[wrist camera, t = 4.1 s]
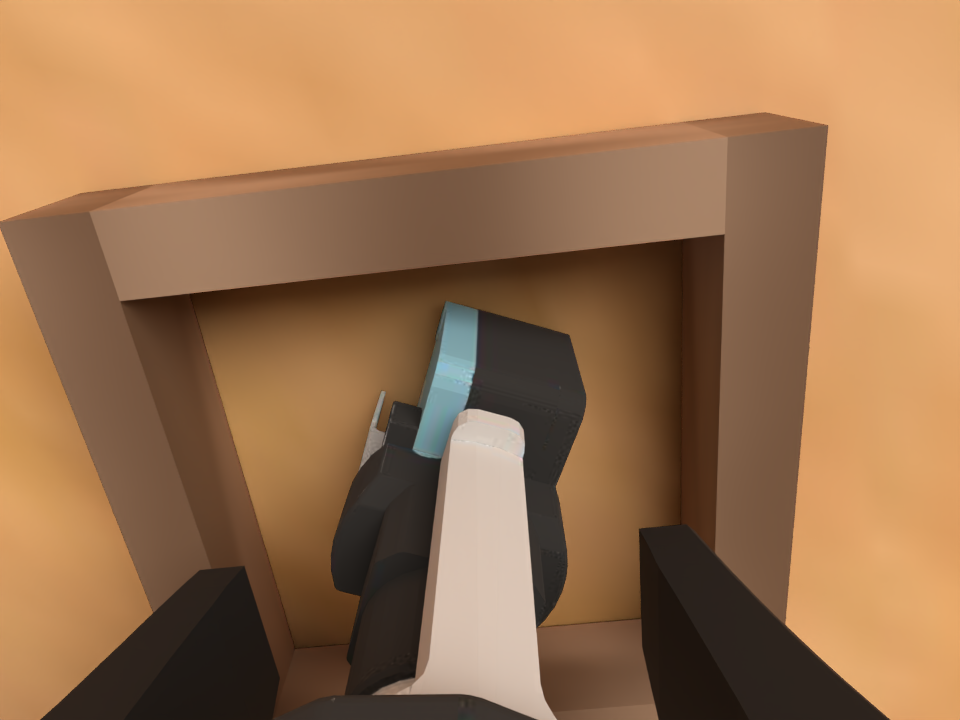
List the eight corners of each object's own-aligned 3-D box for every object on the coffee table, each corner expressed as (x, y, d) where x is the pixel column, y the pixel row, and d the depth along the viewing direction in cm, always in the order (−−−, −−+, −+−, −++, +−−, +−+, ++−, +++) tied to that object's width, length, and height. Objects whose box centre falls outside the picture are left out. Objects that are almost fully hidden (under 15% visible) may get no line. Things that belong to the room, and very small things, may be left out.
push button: (532, 623, 14) (611, 1673, 5) (274, 563, 14) (-168, 1623, 4) (657, 334, 11) (1309, 1445, 2) (342, 245, 11) (-400, 1239, 2)
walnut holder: (253, 694, 15) (221, 783, 13) (80, 193, 11) (-2, 222, 9) (738, 653, 15) (775, 740, 13) (765, 112, 10) (828, 125, 8)
